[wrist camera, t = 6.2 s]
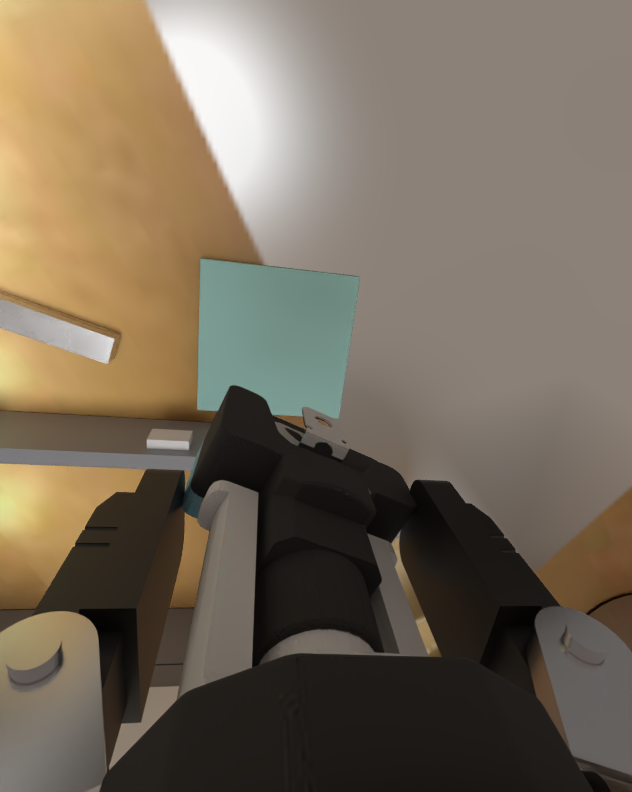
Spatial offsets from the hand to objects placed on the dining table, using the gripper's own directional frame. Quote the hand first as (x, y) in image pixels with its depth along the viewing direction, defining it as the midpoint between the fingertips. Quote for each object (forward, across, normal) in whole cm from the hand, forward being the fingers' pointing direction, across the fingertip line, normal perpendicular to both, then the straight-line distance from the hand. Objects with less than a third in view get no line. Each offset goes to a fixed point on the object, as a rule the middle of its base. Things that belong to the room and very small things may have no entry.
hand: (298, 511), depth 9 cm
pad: (+15, 0, 0) cm, 15 cm away
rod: (+15, +13, -1) cm, 20 cm away
